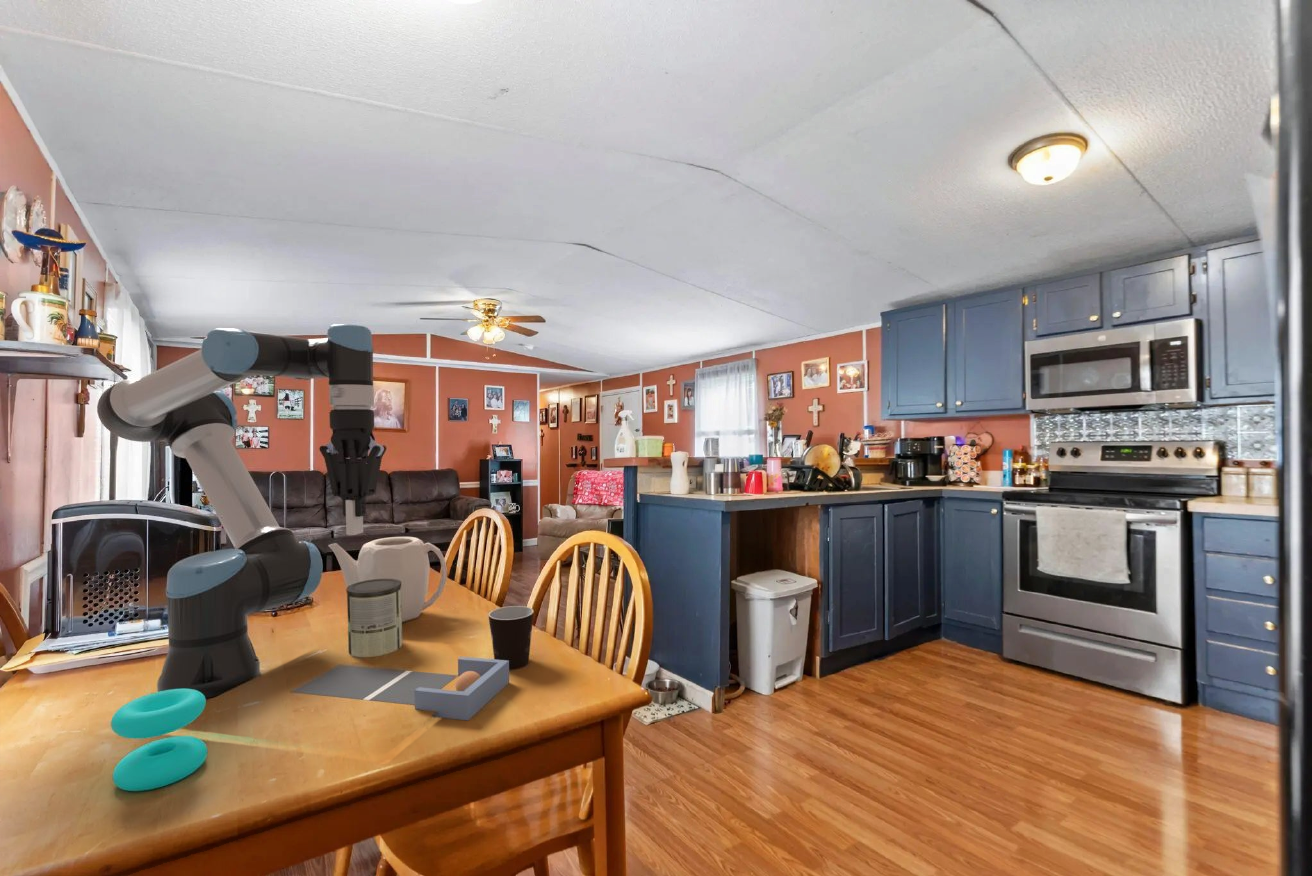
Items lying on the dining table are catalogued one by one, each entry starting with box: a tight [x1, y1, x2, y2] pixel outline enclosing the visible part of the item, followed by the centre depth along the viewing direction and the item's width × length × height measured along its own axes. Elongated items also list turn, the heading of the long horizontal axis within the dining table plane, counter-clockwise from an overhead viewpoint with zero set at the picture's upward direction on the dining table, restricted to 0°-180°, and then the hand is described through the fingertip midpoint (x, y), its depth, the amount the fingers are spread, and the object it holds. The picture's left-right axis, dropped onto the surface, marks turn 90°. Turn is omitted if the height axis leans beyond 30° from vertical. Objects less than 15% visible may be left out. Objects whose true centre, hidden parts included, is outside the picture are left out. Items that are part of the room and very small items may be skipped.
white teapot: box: [327, 536, 448, 623], centre depth 148 cm, size 16×27×19 cm, turn 101°
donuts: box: [110, 689, 208, 792], centre depth 83 cm, size 10×10×10 cm
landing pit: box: [414, 656, 510, 721], centre depth 105 cm, size 10×14×4 cm, turn 167°
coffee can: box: [345, 579, 403, 658], centre depth 126 cm, size 10×10×14 cm
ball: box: [455, 671, 481, 691], centre depth 105 cm, size 4×4×4 cm
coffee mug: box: [487, 605, 535, 671], centre depth 122 cm, size 12×9×10 cm
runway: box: [290, 664, 459, 706], centre depth 109 cm, size 25×12×1 cm, turn 77°
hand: (354, 533), depth 116 cm, fingers closed
